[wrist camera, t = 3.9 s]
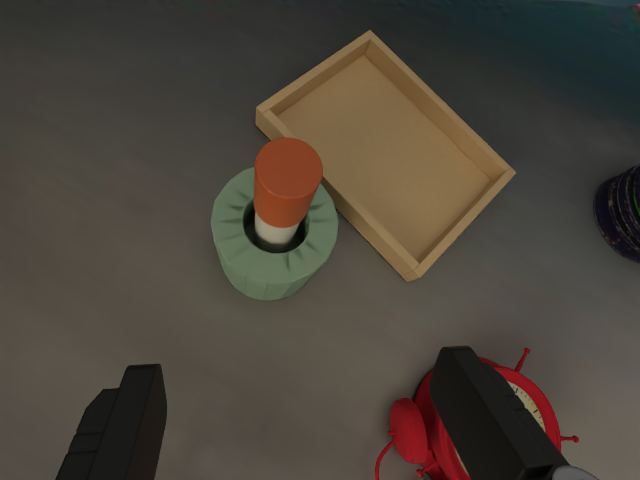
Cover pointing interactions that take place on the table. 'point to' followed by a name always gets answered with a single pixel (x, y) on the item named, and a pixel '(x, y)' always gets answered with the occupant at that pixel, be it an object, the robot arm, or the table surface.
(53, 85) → the table surface
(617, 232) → the dark blue cylinder
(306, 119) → the tray
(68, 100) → the table surface
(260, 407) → the table surface
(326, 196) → the green cylindrical pot
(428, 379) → the alarm clock
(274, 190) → the marker
